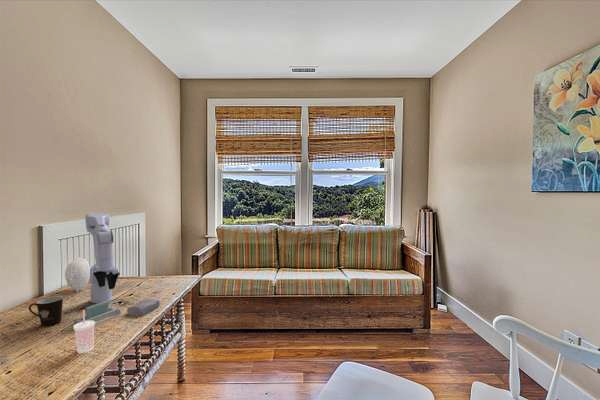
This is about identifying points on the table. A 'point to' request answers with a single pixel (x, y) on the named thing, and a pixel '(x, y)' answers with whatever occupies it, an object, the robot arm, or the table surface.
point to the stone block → (143, 307)
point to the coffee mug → (49, 310)
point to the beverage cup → (84, 335)
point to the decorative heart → (78, 274)
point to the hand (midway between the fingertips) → (106, 287)
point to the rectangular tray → (101, 316)
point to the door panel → (97, 309)
